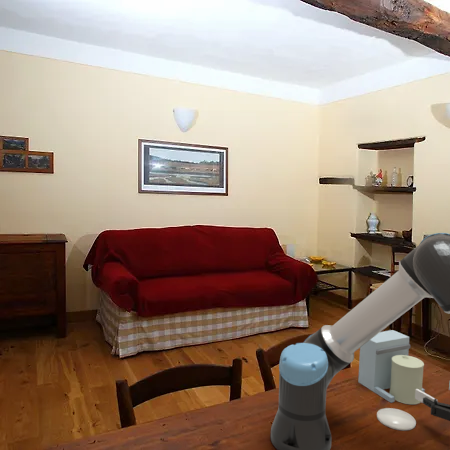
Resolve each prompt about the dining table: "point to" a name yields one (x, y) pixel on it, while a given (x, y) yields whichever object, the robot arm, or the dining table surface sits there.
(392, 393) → the can
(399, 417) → the coaster
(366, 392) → the dining table surface
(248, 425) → the dining table surface
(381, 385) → the pale blue footed box
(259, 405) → the dining table surface
